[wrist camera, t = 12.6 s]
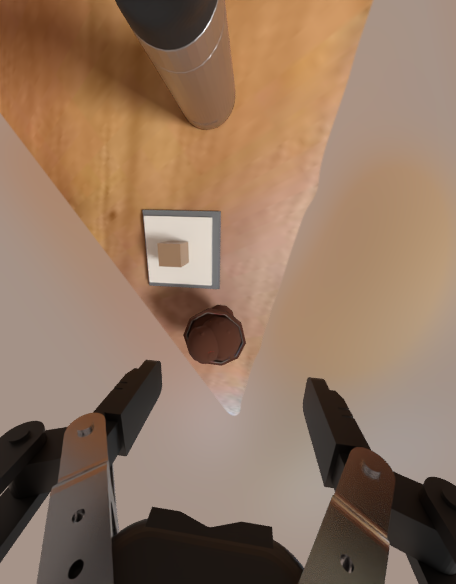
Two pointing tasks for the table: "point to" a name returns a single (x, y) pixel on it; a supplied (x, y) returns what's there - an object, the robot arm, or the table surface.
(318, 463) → the robot arm
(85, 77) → the table surface
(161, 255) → the lid
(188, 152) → the table surface
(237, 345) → the ice cream bowl
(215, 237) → the mat
